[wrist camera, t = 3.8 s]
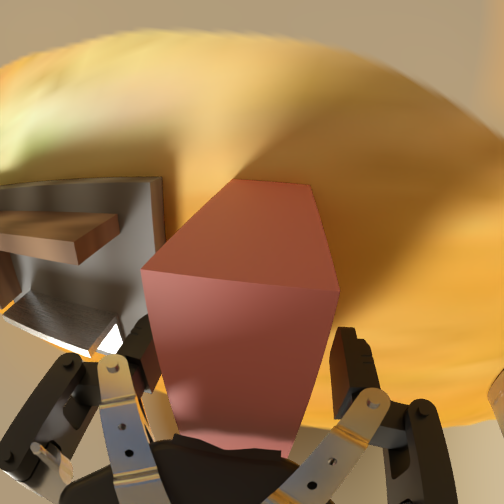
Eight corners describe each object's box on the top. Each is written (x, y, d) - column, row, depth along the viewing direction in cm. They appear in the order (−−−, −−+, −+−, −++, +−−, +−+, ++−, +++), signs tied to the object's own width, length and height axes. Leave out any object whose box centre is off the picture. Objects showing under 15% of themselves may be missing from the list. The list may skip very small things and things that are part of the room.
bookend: (117, 313, 18) (87, 351, 14) (128, 354, 19) (106, 391, 16) (30, 289, 19) (2, 314, 15) (44, 326, 20) (20, 351, 17)
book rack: (161, 176, 15) (105, 204, 10) (180, 359, 21) (157, 414, 16) (-4, 186, 17) (-48, 206, 12) (31, 315, 23) (1, 346, 18)
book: (309, 185, 14) (340, 291, 5) (286, 356, 19) (274, 486, 10) (232, 178, 15) (139, 269, 6) (230, 349, 20) (195, 474, 11)
